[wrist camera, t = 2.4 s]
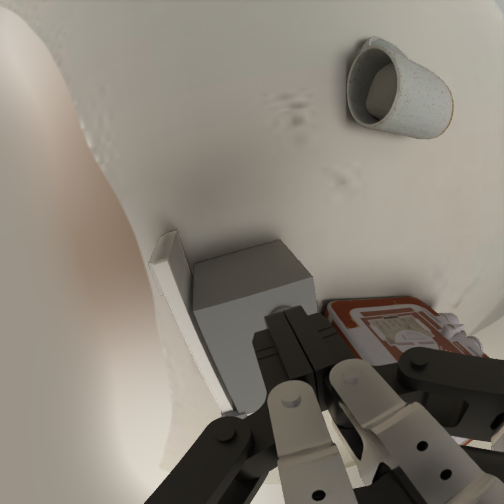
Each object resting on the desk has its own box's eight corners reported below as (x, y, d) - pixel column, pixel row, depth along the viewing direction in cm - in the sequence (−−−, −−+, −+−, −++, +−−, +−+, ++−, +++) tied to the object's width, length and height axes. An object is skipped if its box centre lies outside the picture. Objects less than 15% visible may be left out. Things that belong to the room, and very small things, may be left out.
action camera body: (174, 269, 24) (164, 325, 16) (280, 239, 25) (317, 281, 17) (217, 373, 29) (226, 434, 21) (300, 348, 30) (329, 404, 22)
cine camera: (419, 339, 35) (499, 424, 16) (304, 356, 31) (378, 502, 12) (440, 284, 32) (542, 362, 13) (322, 288, 28) (444, 443, 9)
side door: (161, 234, 23) (146, 267, 16) (180, 228, 23) (172, 260, 16) (217, 373, 29) (223, 422, 22) (231, 369, 29) (240, 419, 23)
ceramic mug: (410, 141, 24) (463, 144, 17) (345, 130, 23) (397, 124, 16) (404, 53, 21) (452, 38, 13) (341, 32, 19) (384, 3, 12)
